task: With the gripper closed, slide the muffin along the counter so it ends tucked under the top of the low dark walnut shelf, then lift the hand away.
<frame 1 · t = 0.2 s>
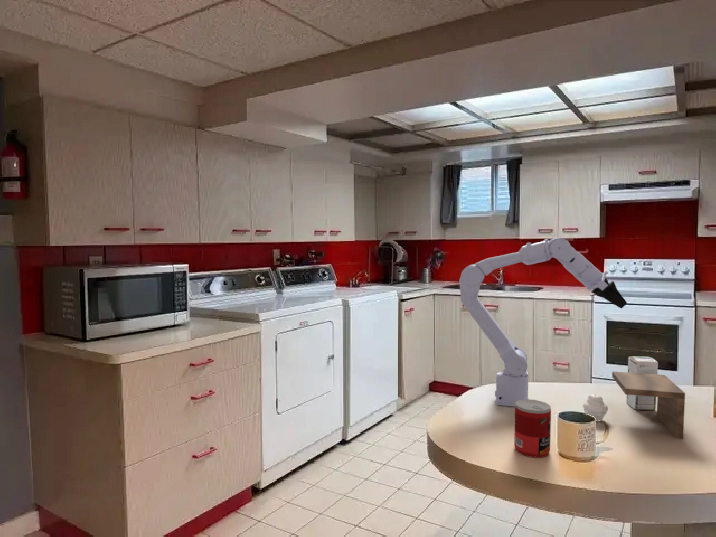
hand: (620, 304, 137), 31 cm above the table, tool tilted 45°, fingers open, 7 cm apart
canned food: (531, 451, 115), on the table
walnut shelf: (644, 424, 130), on the table
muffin: (594, 420, 134), on the table
syrup box: (640, 407, 143), on the table
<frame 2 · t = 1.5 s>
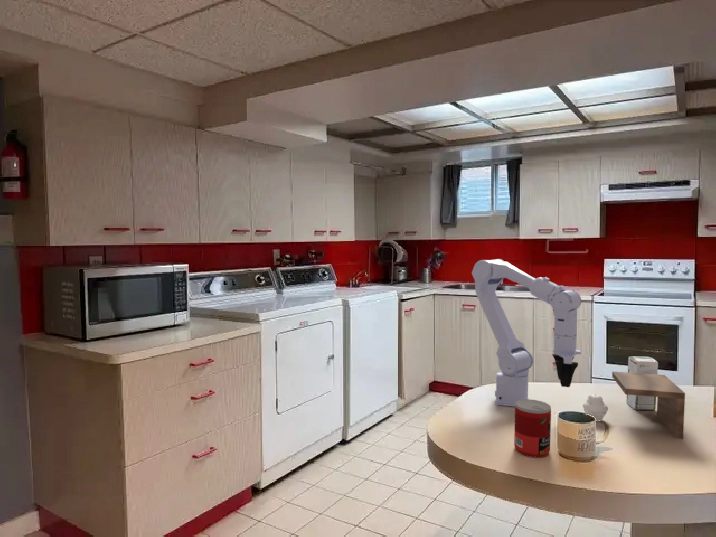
hand: (564, 383, 135), 9 cm above the table, tool pointing down, fingers open, 6 cm apart
nothing on the table moved.
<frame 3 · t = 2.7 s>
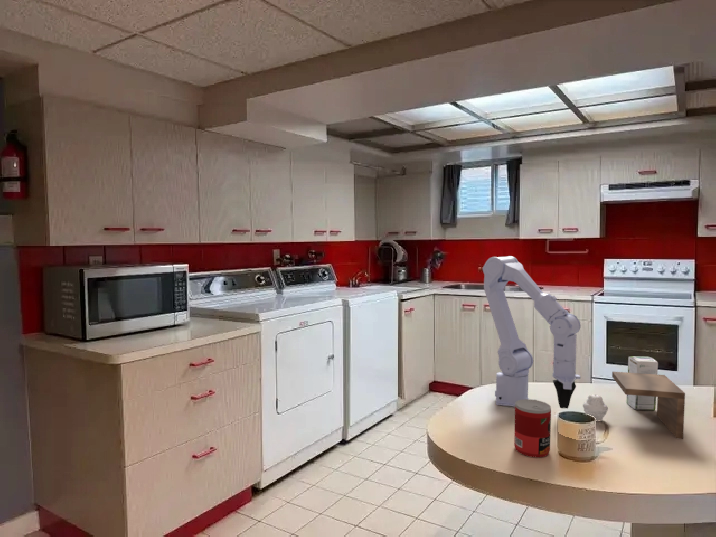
hand: (563, 407, 136), 3 cm above the table, tool pointing down, fingers closed
nothing on the table moved.
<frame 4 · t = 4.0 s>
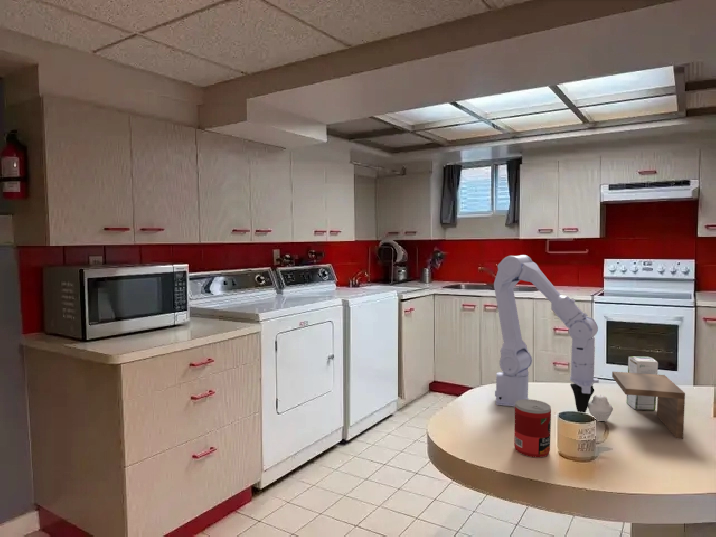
hand: (581, 411, 135), 2 cm above the table, tool pointing down, fingers closed, pressing on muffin
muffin: (599, 420, 133), on the table, touching gripper
everything else where it was.
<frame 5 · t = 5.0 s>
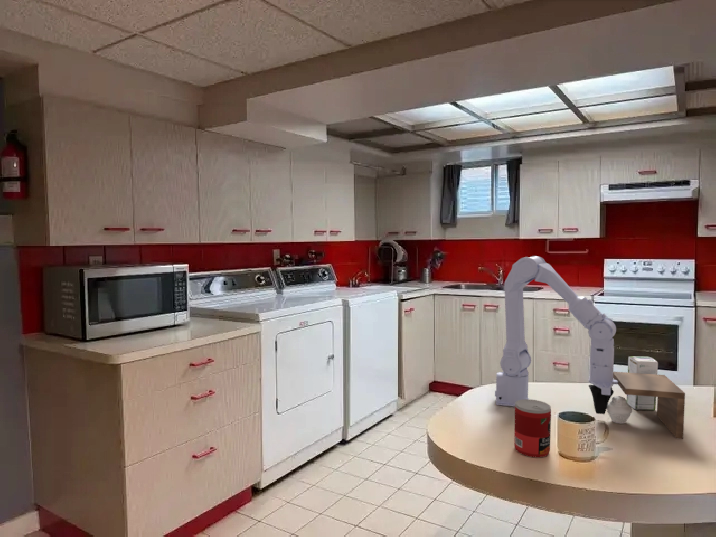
hand: (600, 413, 133), 2 cm above the table, tool pointing down, fingers closed, pressing on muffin
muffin: (618, 422, 132), on the table, touching gripper
everything else where it was.
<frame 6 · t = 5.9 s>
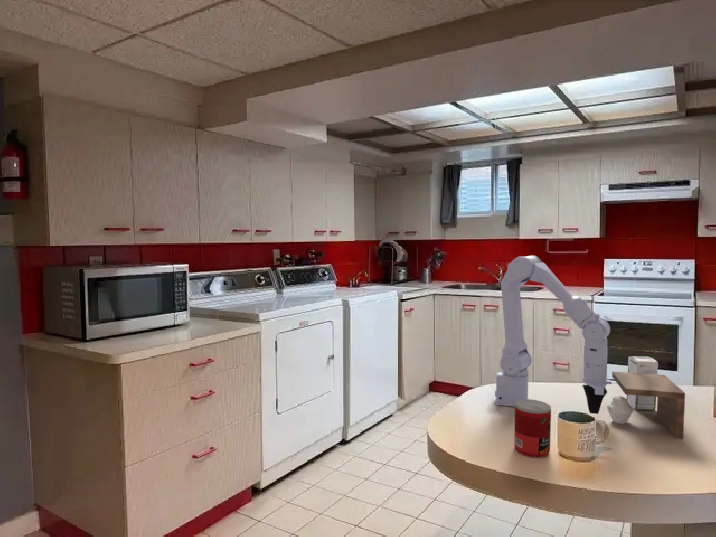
hand: (593, 412, 134), 2 cm above the table, tool pointing down, fingers closed
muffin: (619, 422, 132), on the table
everything else where it was.
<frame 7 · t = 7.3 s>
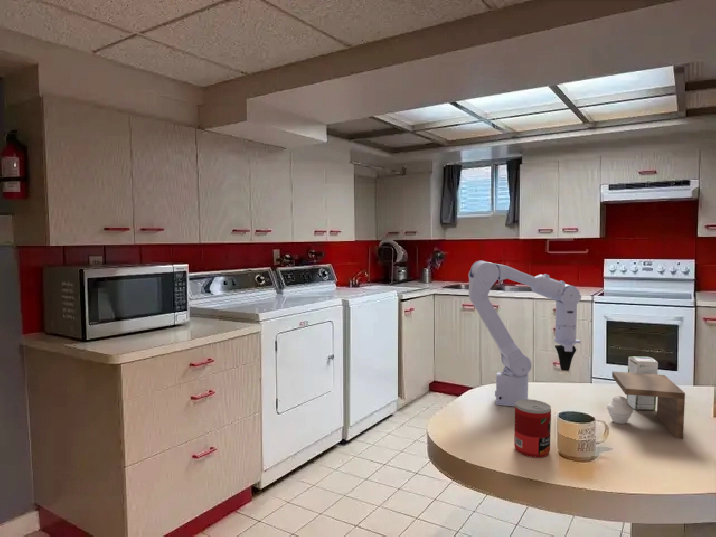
hand: (564, 370, 146), 10 cm above the table, tool pointing down, fingers closed
nothing on the table moved.
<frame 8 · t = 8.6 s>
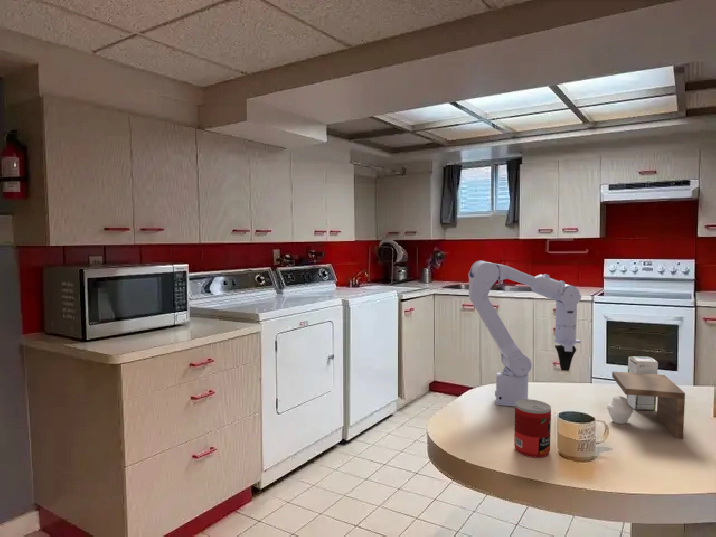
hand: (564, 370, 146), 10 cm above the table, tool pointing down, fingers closed
nothing on the table moved.
at the end: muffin 0.4 cm from the target spot, on the table; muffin tilted 0°; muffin moved 6.1 cm from its start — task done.
